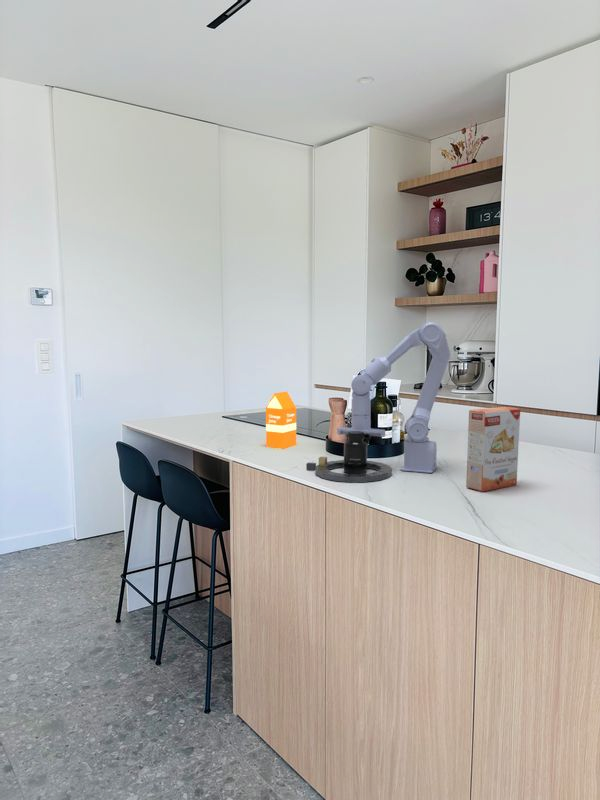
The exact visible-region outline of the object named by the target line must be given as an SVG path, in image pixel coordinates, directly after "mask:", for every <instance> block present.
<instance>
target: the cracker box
mask: <svg viewBox="0 0 600 800" xmlns="http://www.w3.org/2000/svg"><path fill="white" fill-rule="evenodd" d="M520 420H521V409H520V408H518V407H508V406H500V407H497V406H496V407H489V408H488V407H487V408H477V409H469V410H468V429H467V430H468V431H467V433H468V434H467V454H466V455H467V458H466V485H465V486H466V488H468V489H472V490H476V491H478V492H487V491H492V490H497V489H501V488H502V489H503V488H507V487H511V486H517V485H518V482H517V480H518V465H519V463H518V461H519V445H520V425H521V424H520V423H521V422H520Z"/></svg>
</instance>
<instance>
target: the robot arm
mask: <svg viewBox="0 0 600 800" xmlns="http://www.w3.org/2000/svg"><path fill="white" fill-rule="evenodd" d="M448 343H449V342H448V340H447V335H446V332H445V331H444V330H443V328H442V326H441V325H440V324H439V323H437V322H434V321H429V322H425V323H423V324H422V325H420V327H419V328H416V329H414V330H413V331H411V332H410V333H409V334H408V335H406V336H405V337H404V338H403V339H402V340H401V341H400V342H399V343H398V344H396V345H395V347H393V348H392V349H391V350H390V352H388V353H387V354H386V355H385V356H377V357H376V358H374V357H373V358H372V359H371V360H370V362H371V363H369V364H368V365H367V366H366V367H365V368H364V369H363V370H362V369H360V370H359V371H358V372H359V374H358V375H356V376H355V377H353V379H352V381H351V386H350V387H351V389H352V393H351V397H352V399H351V427H338V428H337V435H339V436H340V435H345V436H346V435H347V436H348V432H349V431H361V432H364V439H363V440H364V441H365V442H366V443H367V446H368V445H369V442H370V440H371V439H372V437H380V438H384V437H386V429H381V428H372V427H371V423H372V421H371V420H372V419H371V416H372V415H371V413H372V412H371V411H372V409H371V406H372V405H371V404H372V403H371V402H372V401H371V394H370V391H371V389H372V386H375V385H377V384H378V383H380V381H381V380H382V379H384V378H385V377H386V376H387V375H388V374H389V373H390V372H391V371H392V365H393V364H394V363H396V361H397V360H399V359H400V358H401V357H403V356H404V355H405V354H406V353H407V352H408V351H410V349H411V348H415V347H419V346H421V345H423V344H424V345H425V346H426V347H427V349H428V350H429V353H430V355H431V356H432V357H431V360H430V363H429V366H428V370H427V372H426V375H425V378H424V381H423V384H422V386H421V389H420V392H419V396H418V399H417V401H416V404H415V407H414V409H413V411H412V414H411V415H410V417H409V418H408V419H407V420H406V422H405V426H404V428H405V431H406V434H407V436H405V437H404V440H403V442H404V443H403V448H404V449H403V452H404V453H403V466H402V467H401V468H400V469H399V470H400V471H402V472H403V471H404V472H416V473H429V474H432V473H434V471H435V470H436V469H437V442H436V441H433V440H430V439H429V437H428V435H429V421H430V420H431V419H430V418H431V413H432V411H433V410H432V409H433V406H434V404H435V401H436V398H437V395H438V393H439V392H438V391H439V389H440V386H441V383H442V381H443V377H444V375H445V372H446V369H447V366H448V363H449V360H450V357H451V351H450V347H449V344H448Z"/></svg>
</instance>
